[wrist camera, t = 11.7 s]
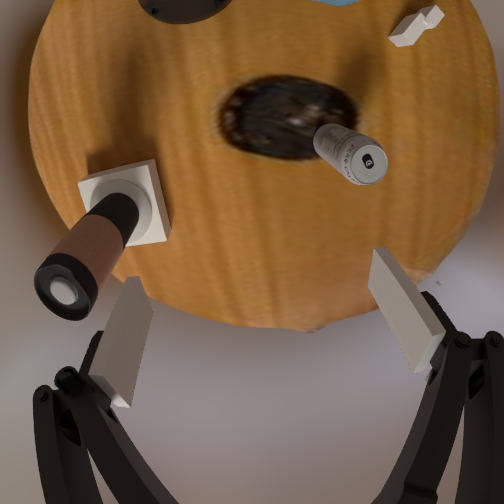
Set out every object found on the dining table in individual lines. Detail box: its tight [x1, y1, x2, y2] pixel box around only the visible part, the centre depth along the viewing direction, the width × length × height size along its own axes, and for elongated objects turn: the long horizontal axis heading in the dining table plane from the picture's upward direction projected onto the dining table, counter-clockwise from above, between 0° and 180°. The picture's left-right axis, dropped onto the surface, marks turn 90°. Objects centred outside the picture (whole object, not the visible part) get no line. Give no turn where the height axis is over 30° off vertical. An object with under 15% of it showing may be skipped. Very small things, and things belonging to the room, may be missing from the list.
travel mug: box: [34, 192, 139, 321], centre depth 32 cm, size 8×8×20 cm
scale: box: [78, 159, 171, 247], centre depth 43 cm, size 13×14×5 cm
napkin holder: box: [388, 5, 444, 47], centre depth 27 cm, size 15×11×6 cm
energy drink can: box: [313, 123, 388, 185], centre depth 35 cm, size 6×6×15 cm
